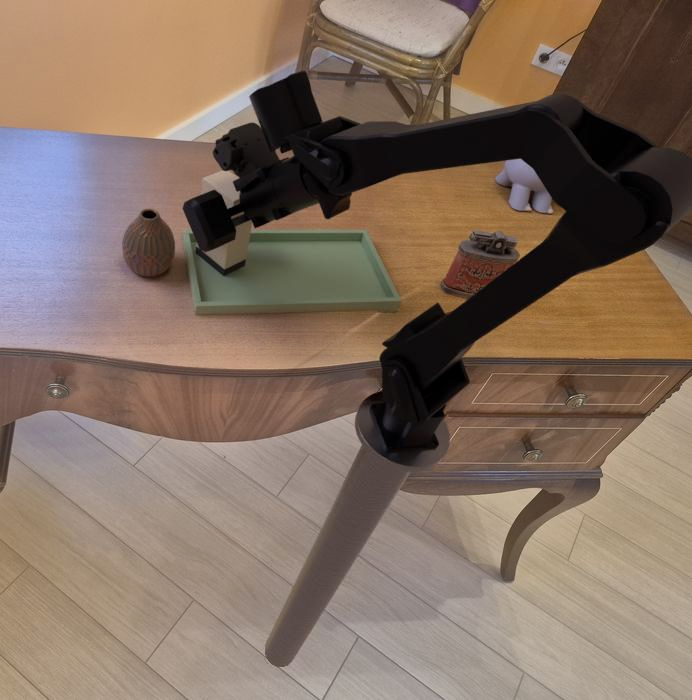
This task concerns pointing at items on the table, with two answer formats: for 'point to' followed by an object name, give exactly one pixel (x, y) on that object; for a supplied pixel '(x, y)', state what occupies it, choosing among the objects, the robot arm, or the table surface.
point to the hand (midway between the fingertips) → (218, 218)
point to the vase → (148, 244)
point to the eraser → (236, 250)
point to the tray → (295, 275)
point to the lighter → (479, 262)
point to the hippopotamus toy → (524, 187)
